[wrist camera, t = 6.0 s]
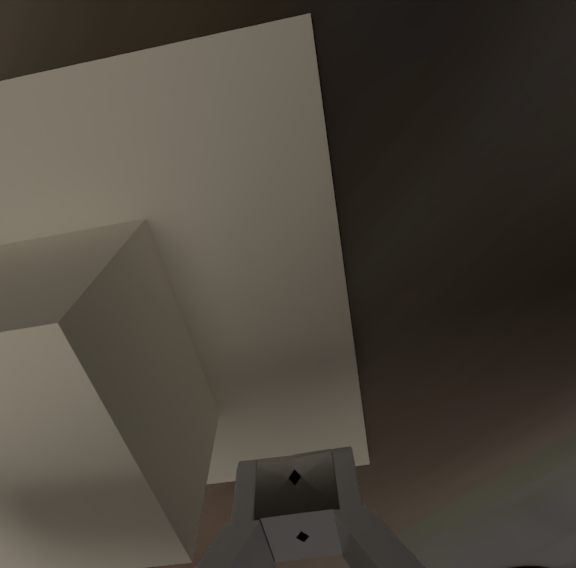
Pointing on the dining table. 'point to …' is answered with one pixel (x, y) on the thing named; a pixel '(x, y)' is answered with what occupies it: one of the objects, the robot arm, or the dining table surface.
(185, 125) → the felt mat
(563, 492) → the dining table surface
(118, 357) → the plain beige block
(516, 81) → the dining table surface
